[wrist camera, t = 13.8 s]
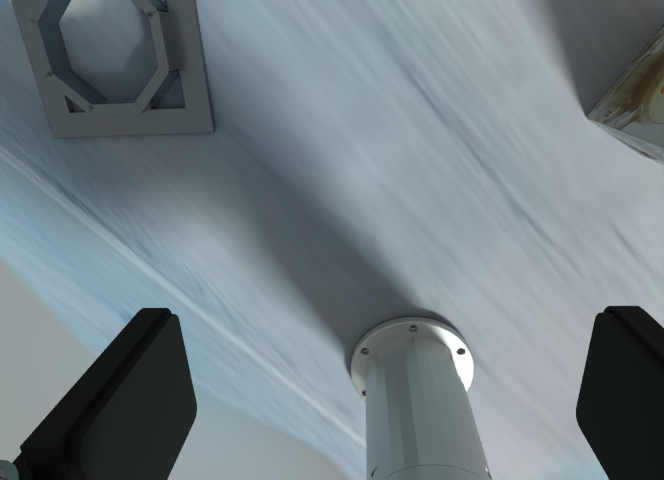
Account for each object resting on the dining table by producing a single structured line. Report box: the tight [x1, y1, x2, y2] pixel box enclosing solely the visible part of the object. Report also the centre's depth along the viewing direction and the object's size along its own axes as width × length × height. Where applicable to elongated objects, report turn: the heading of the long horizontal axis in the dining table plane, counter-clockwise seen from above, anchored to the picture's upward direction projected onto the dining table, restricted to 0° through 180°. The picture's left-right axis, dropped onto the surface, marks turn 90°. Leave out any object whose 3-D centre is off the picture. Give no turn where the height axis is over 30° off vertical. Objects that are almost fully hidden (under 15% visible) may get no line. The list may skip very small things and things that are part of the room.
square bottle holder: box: [12, 0, 216, 138], centre depth 34 cm, size 14×14×2 cm
